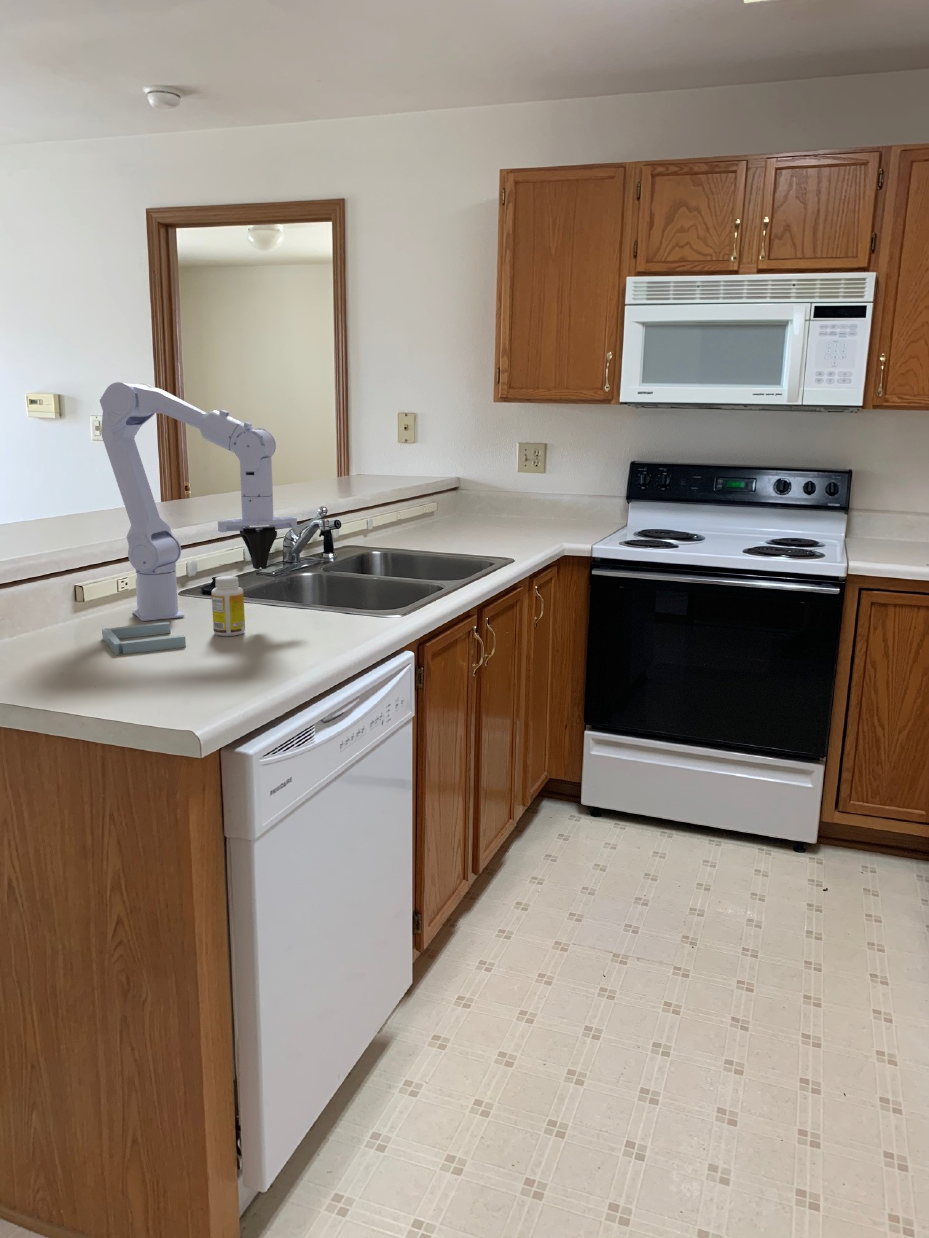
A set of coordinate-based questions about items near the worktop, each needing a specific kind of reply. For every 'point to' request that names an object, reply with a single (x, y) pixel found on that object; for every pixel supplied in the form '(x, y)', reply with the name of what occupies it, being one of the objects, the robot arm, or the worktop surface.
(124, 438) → the robot arm
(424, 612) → the worktop surface
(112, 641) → the tray
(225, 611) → the supplement bottle
